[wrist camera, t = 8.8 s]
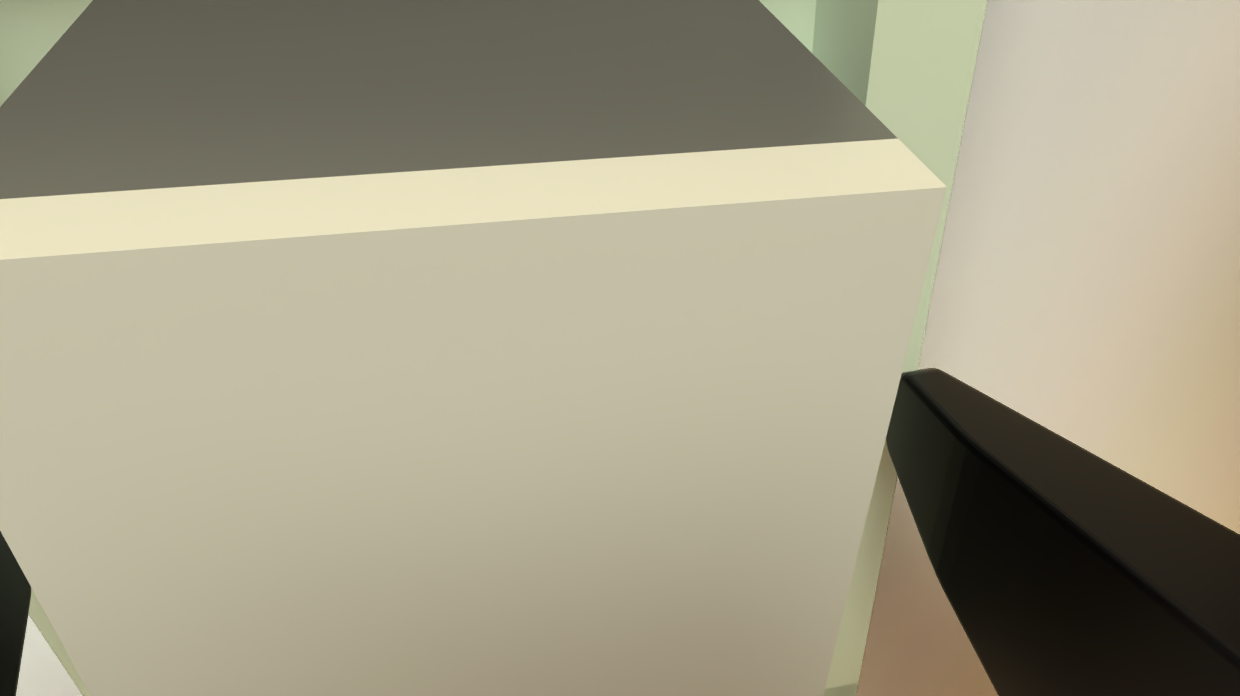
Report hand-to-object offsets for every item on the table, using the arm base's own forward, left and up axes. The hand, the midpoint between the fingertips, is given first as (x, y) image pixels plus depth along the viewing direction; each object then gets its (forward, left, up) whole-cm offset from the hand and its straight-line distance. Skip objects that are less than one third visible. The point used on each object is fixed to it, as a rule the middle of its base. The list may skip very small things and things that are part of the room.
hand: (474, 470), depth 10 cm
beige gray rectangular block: (0, 0, -2) cm, 2 cm away
